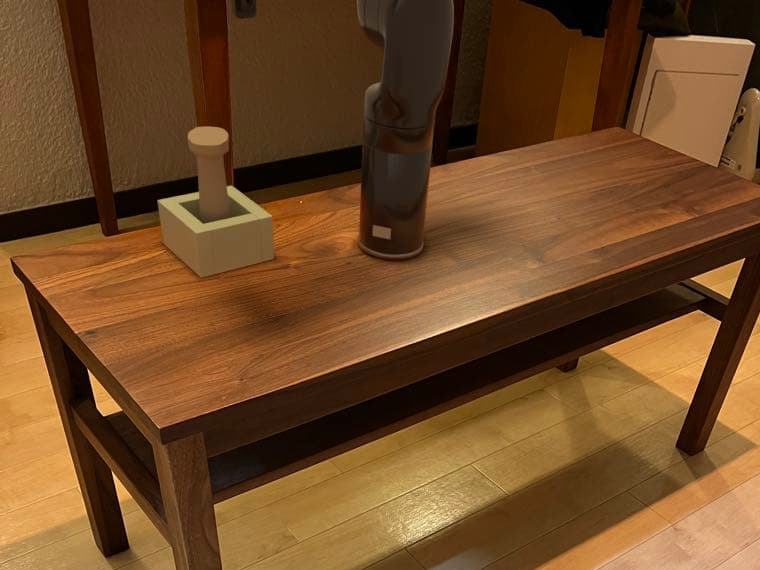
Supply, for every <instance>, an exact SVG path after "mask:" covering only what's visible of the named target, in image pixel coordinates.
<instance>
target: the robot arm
mask: <svg viewBox="0 0 760 570" xmlns="http://www.w3.org/2000/svg"><path fill="white" fill-rule="evenodd" d="M230 5H231V6H230V7H231V14H232V15H233V17H236V18H237V19H239V20H240V19H251V18H252V19H253V18H255V17H256V15H257V0H230ZM454 6H455V5H454V0H356V13H357V14H356V15H357V19H358V24H359V26H360V29H361V31H362V33H363V35H364V36H365V37H366V39H367V40H368V41H369V42H370V43H372V44H373V45H374V46H375V47H378V49H381V50H383V61H382V62H383V63H382V70H381V71H382V72H381V79H380V82H376V83H373V84H372V85H371V84H370V86H368V88H367V89H366V90H365V92H364V99H363V117H362V118H363V120H362V121H363V123H362V148H361V169H360V171H361V173H360V197H359V198H360V199H359V218H358V219H359V220H358V221H359V222H358V236H357V245H358V247H359V248H360V249H361V251H363V252H364V253H366V254H367V255H370V256H373V257H376V258H379V259H385V260H394V261H395V260H407V259H410V258H414V257H416V256H418V255H419V254H421V253H422V251H423V250H424V243H425V242H424V236H425V228H426V227H425V226H426V217H427V207H428V195H429V186H430V185H429V184H430V176H431V167H432V158H433V157H432V156H433V146H434V145H433V144H434V136H435V124H436V115H437V110H438V107H439V105H440V102H441V101H442V98H443V95H444V91H445V89H446V82H447V77H448V70H449V63H450V57H451V49H452V43H453V36H454V26H455V25H454V24H455V7H454Z"/></svg>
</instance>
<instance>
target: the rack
mask: <svg viewBox="0 0 760 570" xmlns="http://www.w3.org/2000/svg"><path fill="white" fill-rule="evenodd" d="M227 192H228V199H229V207H230V218H228V219H224V220H219V221H215V222H210V223H206V224H203V223H201V216H200V206H199V191H196V192H192V193H186V194H182V195H175V196H171V197H167V198H161V199H157V207H158V213H159V214H158V216H159V223H160V229H161V236H162V243H163V245H164V247H166V248H167V249H169V250H170V251H171V252H172V253H173V254H174V255H175V256H176V257H177V258H178V259H179V260H181V261H182V262H183V263H184V264H185V265H186V266H187V267H188V268H189V269H190V270H192V271H193V272H194V273H195V274H196V275H197V276H198V277H199V278H206V277H207V278H208V277H210V276H214V275H218V274H220V273H221V274H223V273H226V272H229V271H233V270H237V269H241V268H245V267H248V266H253V265H257V264H261V263H264V262H269V261H272V260H275V247H274V245H275V244H274V219H273V215H271V214H270V213H269V212H268V211H267V210H265V209H264V208H262V206H260V205H258V204H257V203H256V202H255V201H253V200H251V198H249V197H248V196H246V195H245V194H244V193H243V192H241V191H240V190H238V189H237V188H236V187H235V186H233V185H227Z"/></svg>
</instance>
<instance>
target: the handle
mask: <svg viewBox="0 0 760 570" xmlns="http://www.w3.org/2000/svg"><path fill="white" fill-rule="evenodd" d="M187 133H188V134H187V144H188V149H189V151H190V152H191V153H193V154H195V155H196V162H197V163H196V164H197V179H198V183H197V184H198V192H199V206H200V216H201V223H203V224H206V223H210V222H215V221H219V220H224V219H228V218H230V207H229V199H228V192H227V186H228V185H227V178H226V177H227V176H226V171H225V162H224V155H225V154H226V153H228V152H229V151H230V149H229V148H230V137H229V133H228V131H226V130H225V129H224V128H222V127H218V126H196V127H195V128H193V129H191V130H190V131H189V132H187Z"/></svg>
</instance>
